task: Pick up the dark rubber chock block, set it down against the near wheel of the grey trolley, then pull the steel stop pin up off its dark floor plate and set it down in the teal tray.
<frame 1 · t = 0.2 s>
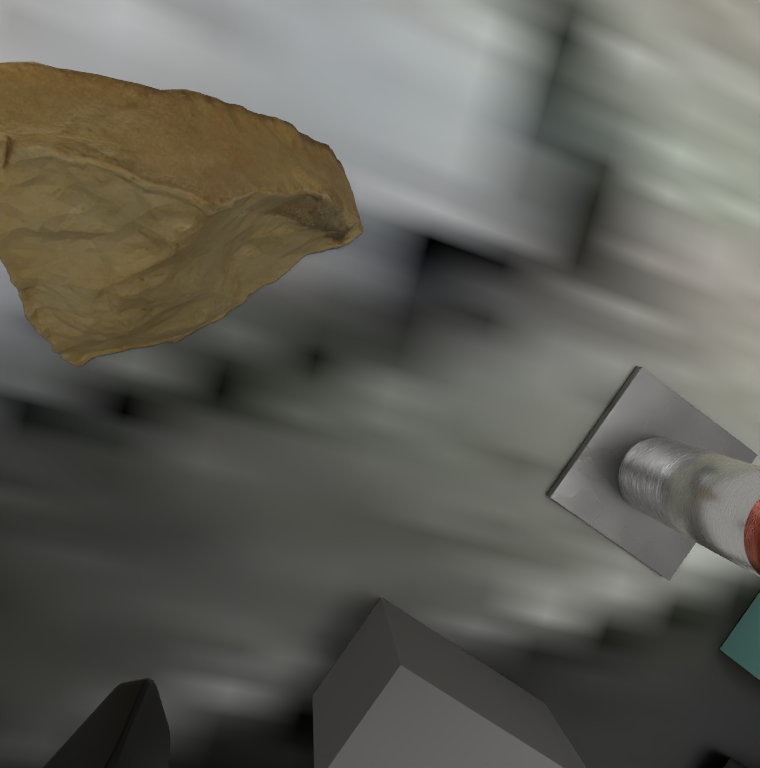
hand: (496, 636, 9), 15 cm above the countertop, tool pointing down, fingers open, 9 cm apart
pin: (655, 475, 25), resting on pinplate
chock: (430, 697, 25), on the countertop
rock: (215, 262, 23), on the countertop
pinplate: (650, 473, 25), on the countertop
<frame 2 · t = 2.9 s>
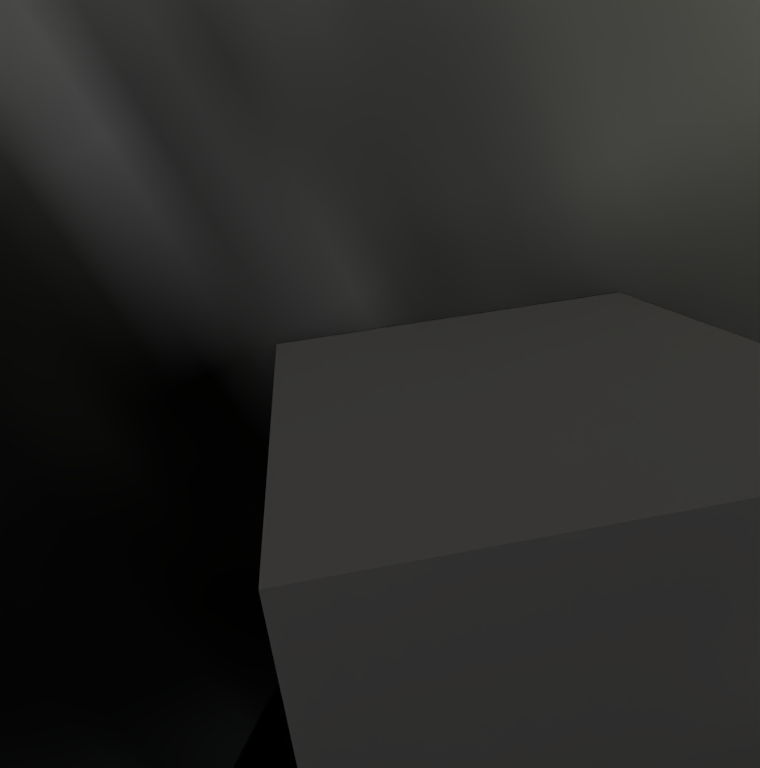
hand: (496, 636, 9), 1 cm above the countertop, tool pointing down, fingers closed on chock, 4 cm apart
chock: (474, 579, 9), on the countertop, touching gripper
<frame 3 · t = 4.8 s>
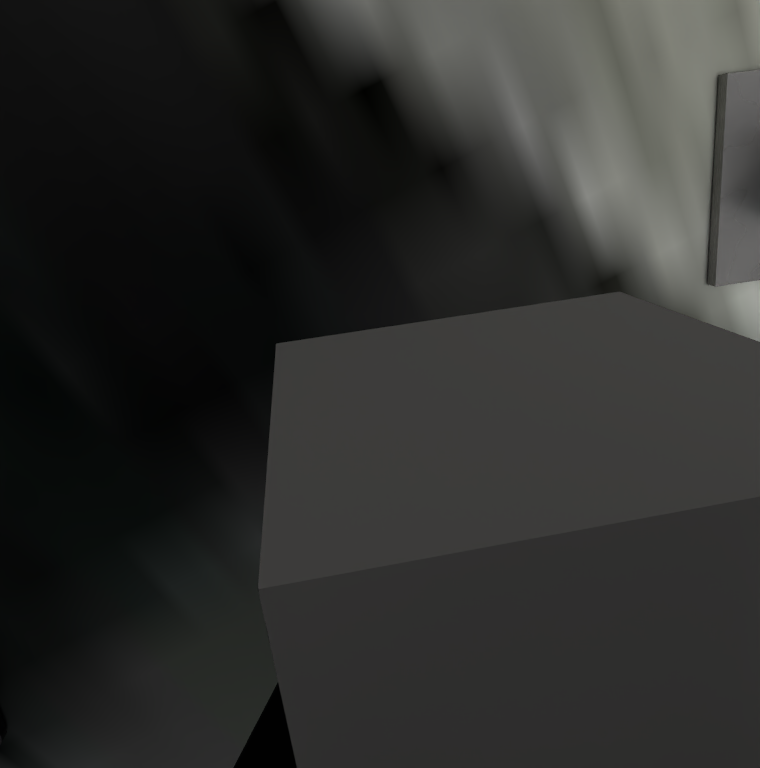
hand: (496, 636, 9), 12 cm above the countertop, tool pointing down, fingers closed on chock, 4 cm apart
chock: (474, 579, 9), point 11 cm above the countertop, touching gripper
when the fingers open (2 cm above the countertop, at t = 6.9 s): chock drops 1 cm, on the countertop.
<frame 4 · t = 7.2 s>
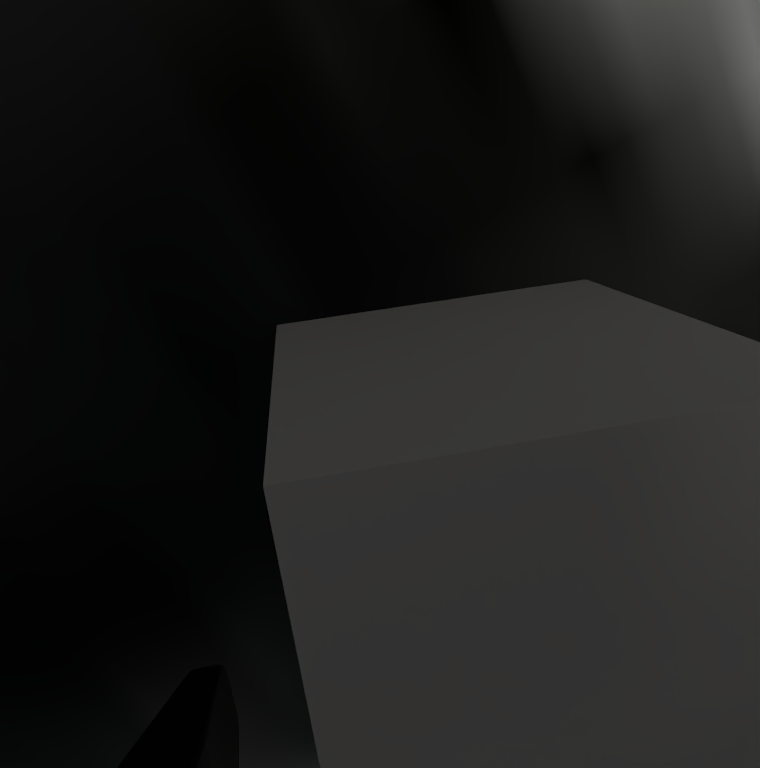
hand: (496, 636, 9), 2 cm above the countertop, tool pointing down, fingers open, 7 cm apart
chock: (455, 537, 11), on the countertop
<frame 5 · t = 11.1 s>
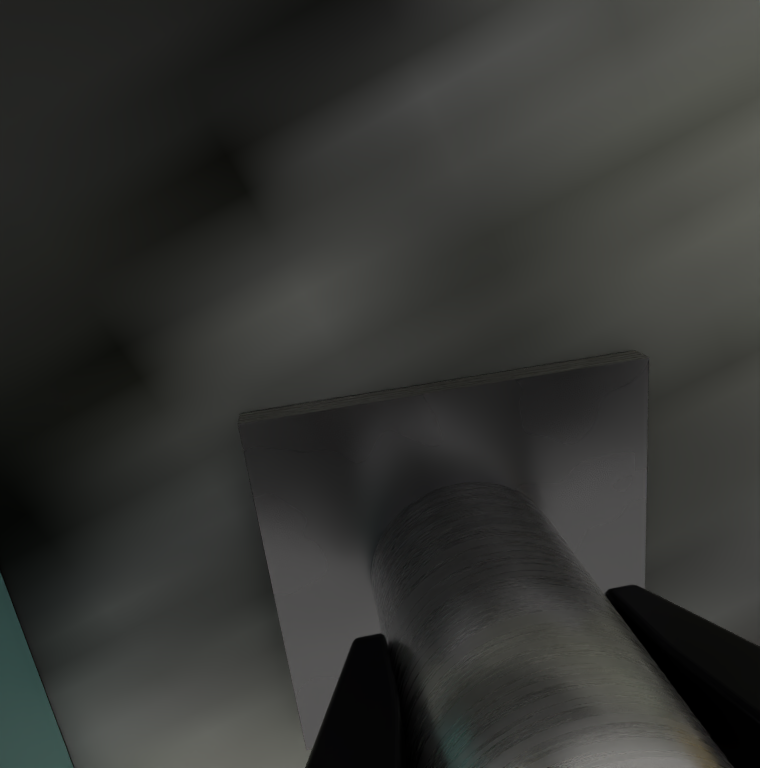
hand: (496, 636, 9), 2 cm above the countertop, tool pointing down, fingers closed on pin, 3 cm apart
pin: (465, 567, 10), resting on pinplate, touching gripper
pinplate: (459, 553, 10), on the countertop
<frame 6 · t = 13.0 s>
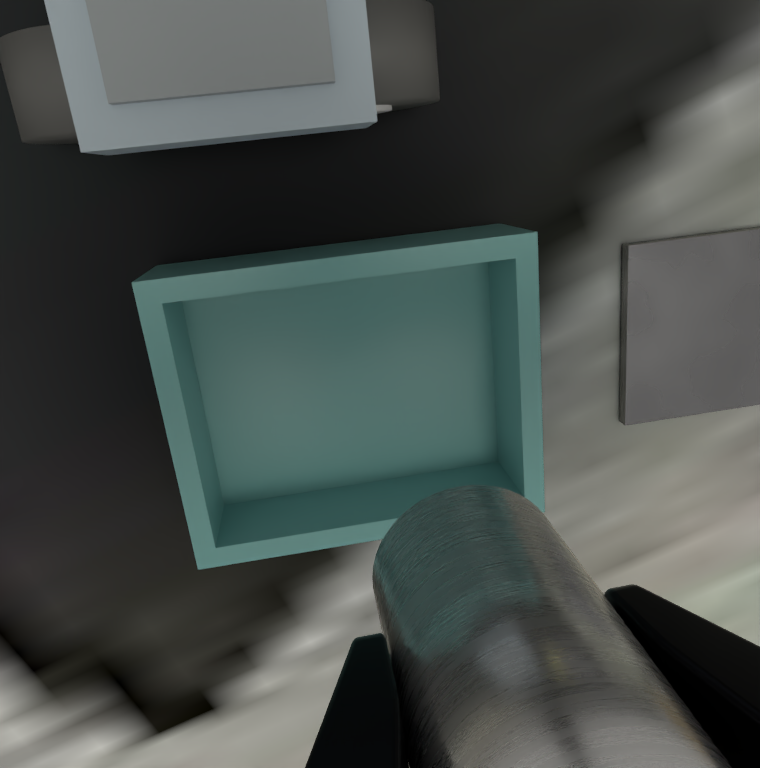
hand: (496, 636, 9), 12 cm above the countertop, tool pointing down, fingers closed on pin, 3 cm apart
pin: (466, 570, 10), point 11 cm above the countertop, touching gripper
tray: (349, 375, 20), on the countertop
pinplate: (706, 324, 21), on the countertop
when the fingers open (3 cm above the countertop, at t = 15.0 s): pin drops 1 cm, resting on tray.
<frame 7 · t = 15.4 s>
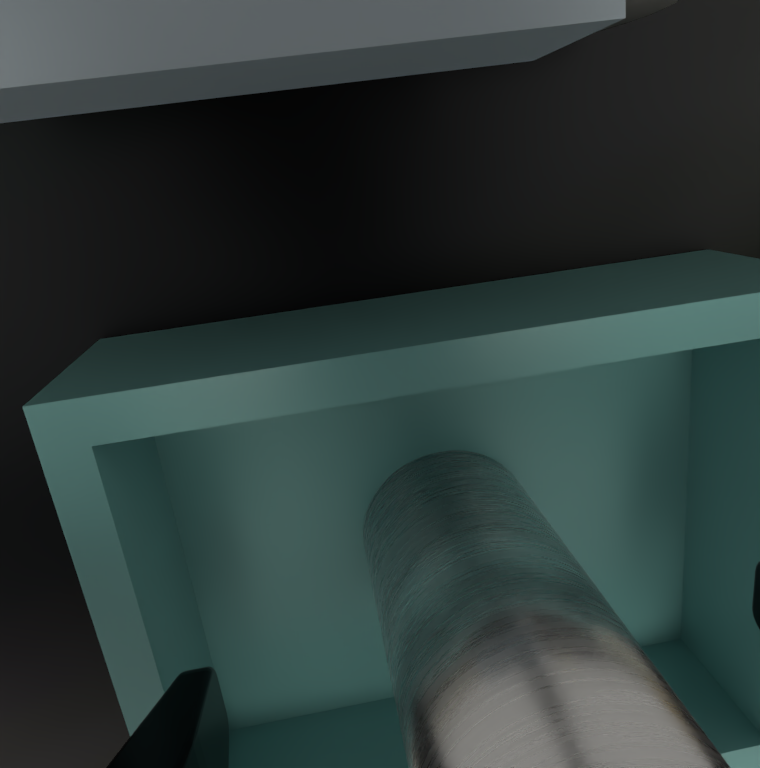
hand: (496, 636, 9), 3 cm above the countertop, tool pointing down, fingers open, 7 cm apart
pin: (447, 528, 11), point 1 cm above the countertop, touching tray
tray: (439, 510, 12), on the countertop
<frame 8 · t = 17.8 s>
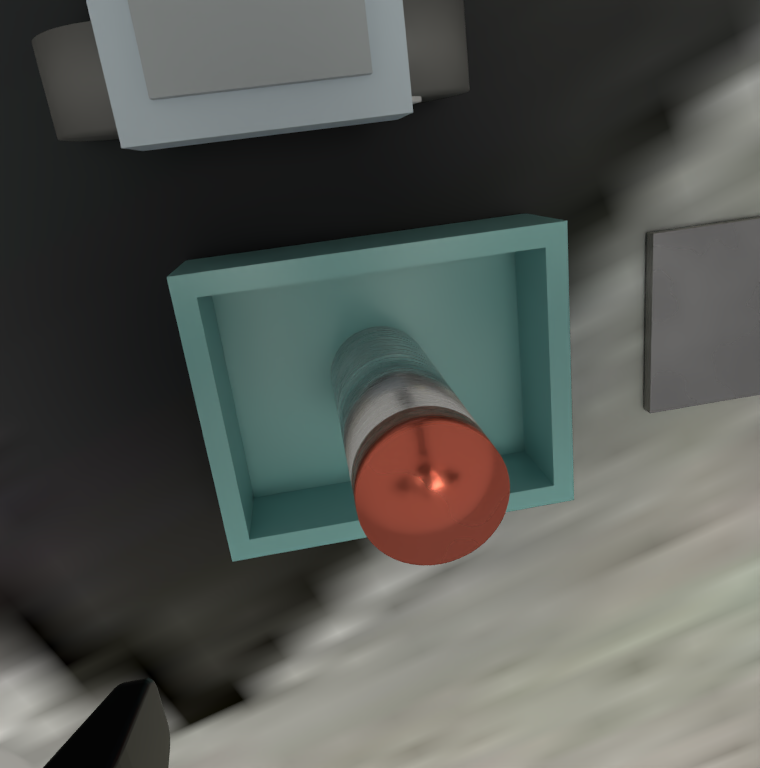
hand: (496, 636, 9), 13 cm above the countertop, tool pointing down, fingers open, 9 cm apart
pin: (379, 373, 20), point 1 cm above the countertop, touching tray
tray: (376, 367, 20), on the countertop
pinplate: (730, 311, 21), on the countertop
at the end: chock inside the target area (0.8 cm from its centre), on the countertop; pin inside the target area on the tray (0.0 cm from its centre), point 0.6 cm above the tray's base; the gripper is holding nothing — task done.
